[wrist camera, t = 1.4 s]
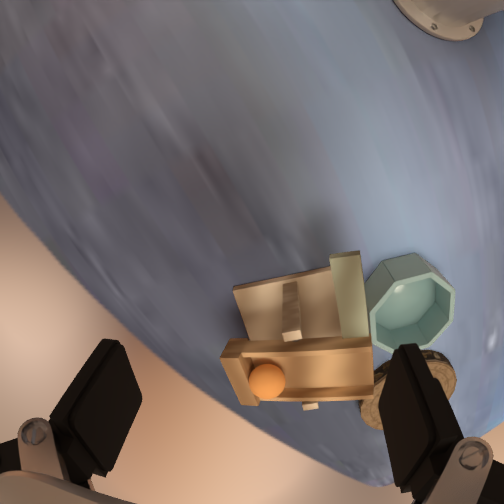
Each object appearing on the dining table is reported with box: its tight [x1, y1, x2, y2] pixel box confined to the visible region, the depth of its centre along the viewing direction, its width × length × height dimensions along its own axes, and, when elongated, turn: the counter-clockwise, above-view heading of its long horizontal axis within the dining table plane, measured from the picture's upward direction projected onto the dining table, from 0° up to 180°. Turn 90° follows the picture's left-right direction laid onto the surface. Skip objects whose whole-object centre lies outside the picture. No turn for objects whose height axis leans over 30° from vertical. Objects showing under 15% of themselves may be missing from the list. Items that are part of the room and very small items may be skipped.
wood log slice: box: [359, 350, 457, 430], centre depth 41 cm, size 16×16×3 cm
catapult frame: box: [233, 266, 342, 410], centre depth 33 cm, size 13×12×10 cm
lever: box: [220, 250, 374, 406], centre depth 28 cm, size 14×16×3 cm
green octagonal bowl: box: [364, 253, 455, 354], centre depth 33 cm, size 10×10×5 cm
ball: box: [249, 364, 286, 399], centre depth 29 cm, size 4×4×4 cm
